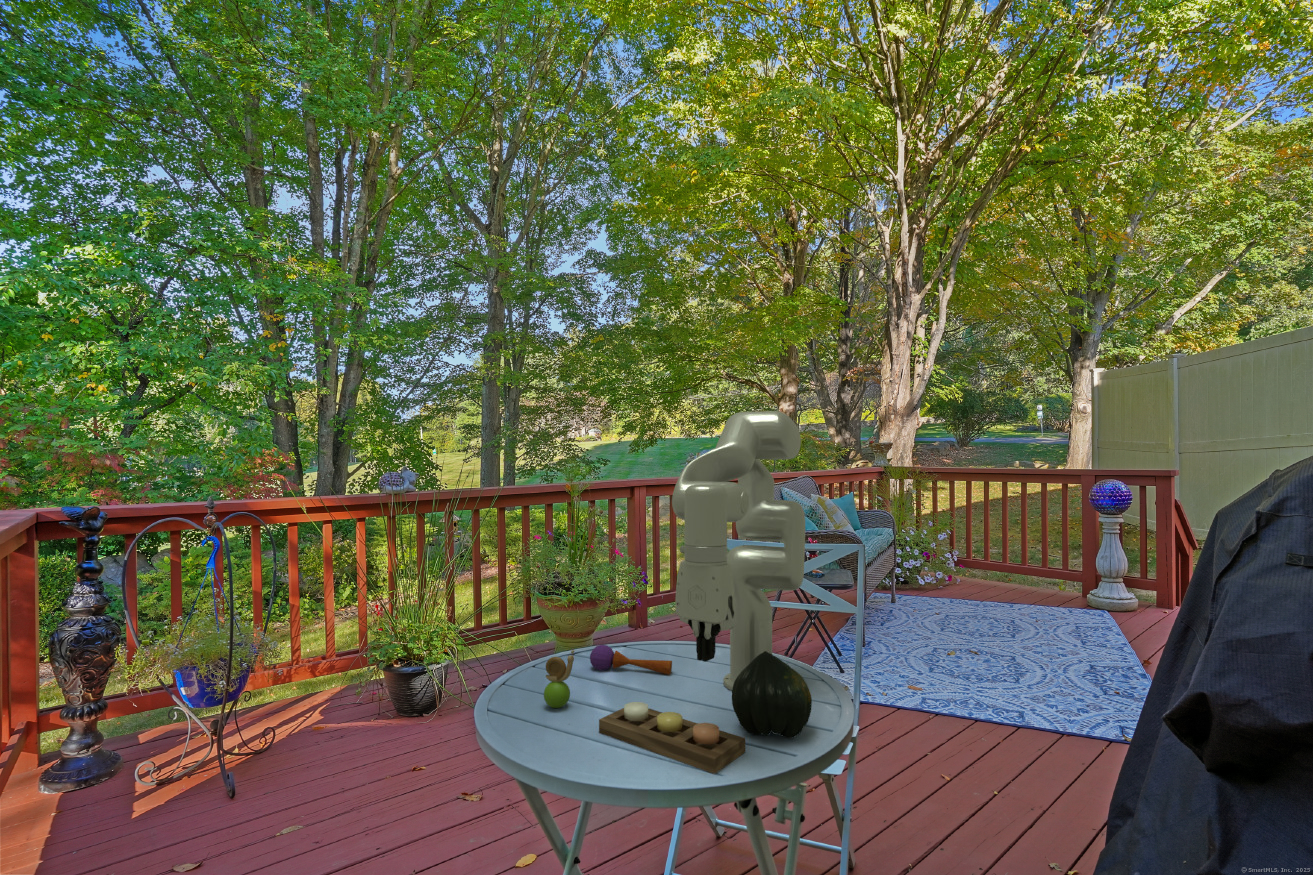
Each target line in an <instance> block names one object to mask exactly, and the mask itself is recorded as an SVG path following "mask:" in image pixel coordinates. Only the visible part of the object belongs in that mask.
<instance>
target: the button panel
mask: <svg viewBox="0 0 1313 875" xmlns="http://www.w3.org/2000/svg"><path fill="white" fill-rule="evenodd" d="M661 713H663V712H662V711H659V710H655V709H652V708H649V707H648V718H646V719H644V720H641V721H631V720H627V719H626V718H625V717H624V707H622V708H620V709H618V710H616V711H614V712H612V713H610V714H608V715H606V716H604V717H601V718H599V719H598V734H600V735H601V734H602V735H603V736H604V735H605V736H607V737H609V738H613V739H615V740H618V741H621V742H624V743H627V744H629V745H633V746H635V747H638V748H640V749H644V750H647V751H649V752H651V753H654V754H657V755H661V756H663V757H666V758H669V759H670V760H671V759H672V760H674V761H676V762H679V763H682V764H685V765H689V766H691V767H694V768H697V769H699V770H702V771H705V772H707V773H709V774H713V775H716V774H717V773H718V772H720V771H721V770H722V769H724V768H726V767H727V766H728V765H730V764H732V762H734V761H736V759H737V760H738V758H740V757H741V756H742V755H744V754H745V753H746V737H743V736H739V735H737V734H734V733H731V732H727V731H724V730H721V729H719V741H718V742H716V743H714V744H700V743H697V742H696V741H694V739H693V727H694V725H696V724H699V723H698V722H695V721H691V720H688V719H685V718H682V729H681V730H679V731H676V732H664V731H661V730H659V729H658V728H657V716H658V715H659V714H661Z"/></svg>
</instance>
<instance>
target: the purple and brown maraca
mask: <svg viewBox="0 0 1313 875" xmlns="http://www.w3.org/2000/svg"><path fill="white" fill-rule="evenodd" d="M589 660H590V664H591V666H592V667H593V668H594V669H595V670H597V671H607V670H609V669H610V668H612V669H617V668H621V667H624V666H627V665H630V666H631V665H632V666H635V667H638V668H643V669H645V670H649V671H653V672H657V673H660V674H664V675H668V676H670V675H671V674H672V670H673V661H672V660H666V659H665V660H663V659H661V660H658V659H632V658H631V659H630V658H628V657H627V656H626V655H624V654H622V652H620V651H618V650H615V651H614V650H613V648H611V647H610V646H608V645H606V644H599V645H596V646H595V647H594V648H592V650H591V652H590V654H589Z"/></svg>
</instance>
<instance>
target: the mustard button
mask: <svg viewBox="0 0 1313 875" xmlns="http://www.w3.org/2000/svg"><path fill="white" fill-rule="evenodd" d="M682 719H683V715H682V714H681V713H678V712H675V711H666V712H662V713H661V714H659V715H658V716H657V728H658V729H659V730H661V731H664V732H676V731H679V730H681V729H682Z"/></svg>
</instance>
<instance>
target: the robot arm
mask: <svg viewBox="0 0 1313 875" xmlns="http://www.w3.org/2000/svg"><path fill="white" fill-rule="evenodd" d="M801 439H802V438H801V434H800V430H799V428H798V426H797V424H796V423H795V422H794V421H793V420H792V418H791V417H790V416H789V415H788V414H786V413H785V412H783V411H778V410H765V411H761V410H760V411H738V412H736V413H734V414H732V415H731V416H729V418H728V419H727V420H726V422H725V425H724V427H723V429H722V431H721V434H720V436H719V438H718V441H717V443H716V444H715V445H716V446H715V447H714V448H712V449H710V450H708V451H707V452H704V453H703V454H702V455H700V456H698V457H696V458H694V459H693V460H692V461H690V462H689V463H688V464H686V466H684V468H683V469H682V471H681V473H680V475H679V476H678V479H677V480H676V483H675V486H674V488H673V489H674V490H673V492H672V497H671V498H672V499H671V504H672V505H671V507H672V510H673V513H674V514H675V515H676V517H677V518H679V519H680V520H683V521H684V545H681V546H680V548H679V551H680V553H682V554H683V555H684V560H681V561H680V562H679V568H678V571H677V572H678V573H677V577H676V578H677V579H676V586H675V587H676V588H675V602H674V603H675V604H674V606H675V614H676V615H677V616H678V617H679V621H680V622H682V623H685V624H687V625H688V627H689V628H690V629H691V630H692V633H693V636H694V637H695V640H696V641H695V644H696V648H695V649H696V659H697V661H702V662H705V663H706V662H708V661H711V660H712V659H715V656H716V637H718V636H719V633H721V632H722V631H729V632H730V633H729V649H730V650H729V657H730V660H729V661H730V662H729V664H730V665H729V666H730V669H729V673H727V674H726V675H725V676H724V677H723V685H724V687H726V689H729V690H730V691H732V689H733V684H734V682H735V680H736V678H737V677H738V675H739V674H740V673H741V672H742V671H743V669H744V668H746V667H747V666H748V665H749V664H750V663H751V662H752V661H753V660H754V659H755V658H756V657H757V656H758V655H759V654H761V653H763V652H764V651H767V652H768V653H770V654H772V655H773V608H772V605H771V603H770V600H769V598H768V597H767V596H766V594H765V592H763V590H776V591H777V590H778V591H796V590H798V589H800V587H801V586H802V584H803V582H804V577H805V576H804V574H805V556H806V555H805V554H806V553H805V550H806V515H805V511H804V508H803V506H802V505H801V504H800V503H799V502H797V501H794V500H790V499H789V500H785V499H775V480H774V477H773V475H772V473H771V472H770V471H769V469H768V468H767V467H766V465H765V464H763V463H762V461H760V460H793V459H795V458H796V457H797V456H798V454H799V452H800V450H801V446H802V445H801V443H802V441H801ZM736 479H737V482H735V481H733V480H736ZM728 523H735V529H736V533H737V535H738V536H739V537H740V538H742V539H745V540H750V541H759V542H761V541H762V542H763V541H765V542H780V543H782V544H783V546H767V545H755V544H754V545H752V544H751V545H749V544H745V545H744V544H742V545H737V546H735V547H733V548H731V549H730V550H729V551H728Z"/></svg>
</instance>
